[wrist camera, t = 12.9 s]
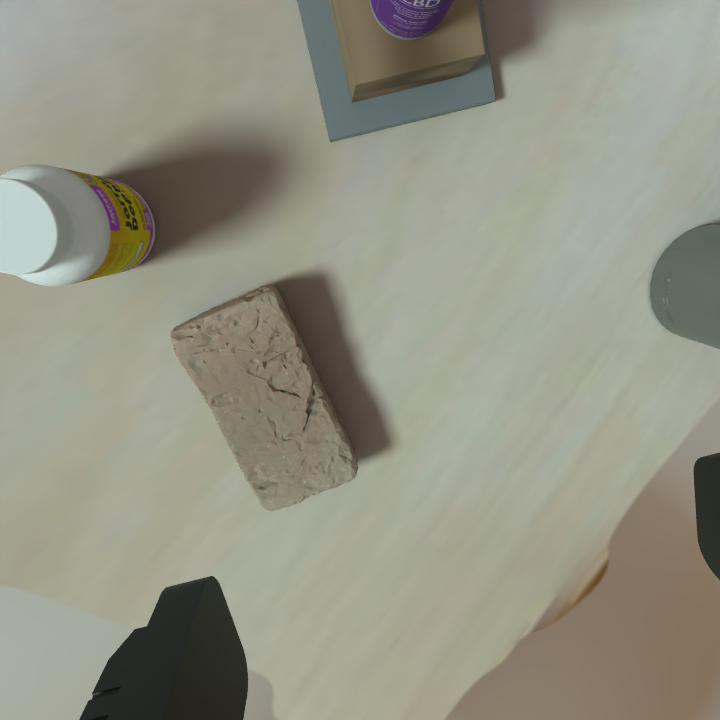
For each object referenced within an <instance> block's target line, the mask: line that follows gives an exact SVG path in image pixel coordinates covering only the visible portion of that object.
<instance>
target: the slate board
mask: <svg viewBox="0 0 720 720" xmlns="http://www.w3.org/2000/svg"><path fill="white" fill-rule="evenodd" d="M297 2H298V6H299V10H300V15H301V19H302V23H303V27H304V32H305V36H306V40H307V45H308V49H309V53H310V57H311V62H312V66H313V70H314V75H315V79H316V83H317V87H318V92H319V96H320V100H321V105H322V109H323V113H324V118H325V122H326V126H327V130H328V135H329V139H330V142H333V141H337V140H341V139H345V138H349V137H353V136H358V135H362V134H366V133H370V132H374V131H378V130H382V129H386V128H390V127H394V126H399V125H403V124H407V123H411V122H415V121H419V120H423V119H427V118H431V117H435V116H440V115H444V114H448V113H452V112H456V111H460V110H464V109H468V108H472V107H476V106H481V105H485V104H489V103H492V102H493V101H495V100H496V99H495V92H494V86H493V79H492V72H491V65H490V59H489V52H488V45H487V38H486V31H485V25H484V18H483V11H482V4H481V0H477V5H478V11H479V18H480V25H481V31H482V38H483V45H484V51H485V54H484V55H483V56H482V57H481V58H480V59H479V60H478V61H477V62H476V63H475V64H474V65H473V66H472V67H471V68H470V69H469V70H468V71H467V72H466V73H465V74H464V75H463V76H460V77H456V78H452V79H448V80H444V81H440V82H436V83H432V84H428V85H423V86H419V87H415V88H411V89H407V90H403V91H399V92H395V93H391V94H386V95H382V96H378V97H374V98H370V99H366V100H362V101H358V102H354V103H351V99H350V94H349V90H348V85H347V81H346V76H345V72H344V67H343V62H342V58H341V53H340V49H339V44H338V39H337V35H336V30H335V26H334V21H333V17H332V12H331V7H330V3H329V0H297Z"/></svg>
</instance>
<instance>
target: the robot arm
mask: <svg viewBox="0 0 720 720" xmlns="http://www.w3.org/2000/svg"><path fill="white" fill-rule="evenodd" d="M650 298H651V303H652V308H653V310H654V312H655V315H656V317H657V318H658V320H659V321H660V322H661V324H662V325H663V326H664V327H665V328H667V329H668V330H669V331H671V332H672V333H675V334H677V335H679V336H682V337H685V338H688V339H691V340H694V341H697V342H700V343H703V344H706V345H709V346H712V347H715V348H718V349H720V224H718V225H705V226H701V227H697V228H695V229H692V230H690V231H688V232H686V233H684V234H683V235H681V236H680V237H679V238H677V239H676V240H675V241H674V242H673V243H672V244H671V245H670V246H669V247H668V248H667V249H666V250H665V251H664V253H663V254H662V256H661V257H660V259H659V260H658V263H657V265H656V267H655V269H654V272H653V276H652V280H651V284H650ZM694 486H695V502H696V519H697V535H698V543H699V547H700V550H701V552H702V554H703V557H704V559H705V561H706V562H707V564H708V566H709V568H710V569H711V570H712V572H713V573H714V574H715V575H716V576H717V578H719V580H720V453H716V454H713V455H708V456H704V457H701V458H699V459H698V460H697V461H696V463H695V465H694ZM247 691H248V673H247V663H246V658H245V653H244V650H243V647H242V644H241V641H240V638H239V636H238V633H237V630H236V628H235V625H234V622H233V619H232V617H231V614H230V611H229V608H228V606H227V603H226V600H225V597H224V595H223V592H222V589H221V587H220V584H219V582H218V581H217V579H216V578H215V577H213V576H210V577H206V578H202V579H198V580H194V581H190V582H186V583H182V584H178V585H174V586H169V587H166V588H165V589H164V590H163V591H162V593H161V595H160V597H159V600H158V602H157V604H156V607H155V609H154V611H153V614H152V616H151V618H150V621H149V623H148V625H147V626H146V627H142V628H138V629H135V630H134V631H133V632H132V633H131V634H130V636H129V637H128V638H127V639H126V640H125V641H124V643H123V644H122V645H121V646H120V647H119V648H118V650H117V651H116V652H115V653H114V654H113V655H112V656H111V658H110V659H109V660H108V662H107V664H106V666H105V668H104V670H103V672H102V674H101V676H100V678H99V680H98V683H97V685H96V687H95V689H94V691H93V693H92V694H93V698H92V700H89V701H88V703H87V705H86V707H85V709H84V711H83V713H82V715H81V717H80V720H243V718H244V711H245V705H246V699H247Z"/></svg>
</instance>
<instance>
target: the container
mask: <svg viewBox="0 0 720 720" xmlns="http://www.w3.org/2000/svg"><path fill="white" fill-rule="evenodd" d="M369 1H370V6H371V10H372V13H373V15H374V17H375V19H376V21H377V23H378V24H379V25H380V27H381V28H382V29H383V30H384V31H386V32H387V33H388V34H390V35H391V36H393V37H395V38H398V39H401V40H416V39H420V38H422V37H424V36H426V35H428V34H429V33H431V32H432V31H433V30H434V29H435V28H436V27H437V26H438V25H439V23H440V22H441V20H442V19H443V17H444V16H445V14H446V12H447V11H448V9H449V7H450V6H451V4H452V3H453V1H454V0H369Z"/></svg>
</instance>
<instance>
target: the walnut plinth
mask: <svg viewBox="0 0 720 720" xmlns="http://www.w3.org/2000/svg"><path fill="white" fill-rule="evenodd" d="M329 3H330V7H331V12H332V17H333V21H334V26H335V30H336V35H337V39H338V44H339V49H340V53H341V58H342V62H343V67H344V72H345V76H346V81H347V85H348V90H349V94H350V99H351V103H354V102H358V101H362V100H366V99H370V98H374V97H378V96H382V95H386V94H391V93H395V92H399V91H403V90H407V89H411V88H415V87H419V86H423V85H428V84H432V83H436V82H440V81H444V80H448V79H452V78H456V77H460V76H463V75H464V74H465V73H466V72H467V71H468V70H469V69H470V68H471V67H472V66H473V65H474V64H475V63H476V62H477V61H478V60H479V59H480V58H481V57H482V56H483V55H484V54H485V51H484V45H483V38H482V31H481V25H480V18H479V11H478V5H477V0H454V1H453V3H452V4H451V6H450V7H449V9H448V11H447V12H446V14H445V16H444V17H443V19H442V20H441V22H440V23H439V25H438V26H437V27H436V28H435V29H434V30H433V31H432V32H431V33H429V34H428V35H426V36H424V37H422V38H420V39H416V40H401V39H398V38H395V37H393V36H391V35H390V34H388V33H387V32H386V31H384V30H383V29H382V28H381V27H380V25H379V24H378V23H377V21H376V19H375V17H374V15H373V13H372V10H371V6H370V1H369V0H329Z"/></svg>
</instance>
